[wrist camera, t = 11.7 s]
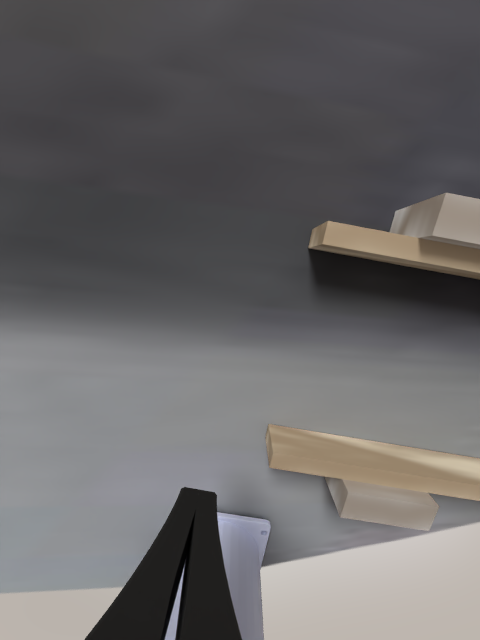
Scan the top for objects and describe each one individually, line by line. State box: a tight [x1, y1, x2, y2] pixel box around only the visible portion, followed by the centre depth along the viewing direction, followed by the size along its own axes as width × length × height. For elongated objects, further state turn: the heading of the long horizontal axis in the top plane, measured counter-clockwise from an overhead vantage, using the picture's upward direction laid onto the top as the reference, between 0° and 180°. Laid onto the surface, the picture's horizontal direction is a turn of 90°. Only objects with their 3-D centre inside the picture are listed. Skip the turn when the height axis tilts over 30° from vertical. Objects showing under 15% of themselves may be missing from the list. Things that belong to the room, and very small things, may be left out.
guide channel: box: [266, 193, 480, 531], centre depth 16 cm, size 20×18×4 cm
